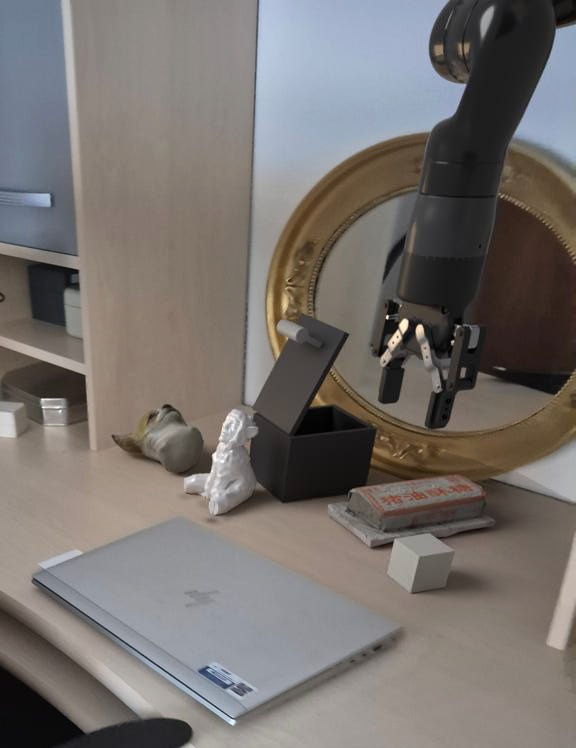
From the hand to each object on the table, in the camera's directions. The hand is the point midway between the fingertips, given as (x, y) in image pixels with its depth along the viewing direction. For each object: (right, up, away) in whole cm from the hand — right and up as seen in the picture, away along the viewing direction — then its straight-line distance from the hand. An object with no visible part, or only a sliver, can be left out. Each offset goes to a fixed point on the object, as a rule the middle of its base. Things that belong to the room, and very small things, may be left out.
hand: (410, 414), depth 88 cm
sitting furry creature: (-16, -5, +24) cm, 29 cm away
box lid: (-7, +10, +19) cm, 23 cm away
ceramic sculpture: (-23, +2, +35) cm, 42 cm away
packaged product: (+6, -9, +17) cm, 21 cm away
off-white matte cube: (+3, -17, +5) cm, 18 cm away
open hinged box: (-4, -2, +28) cm, 29 cm away
